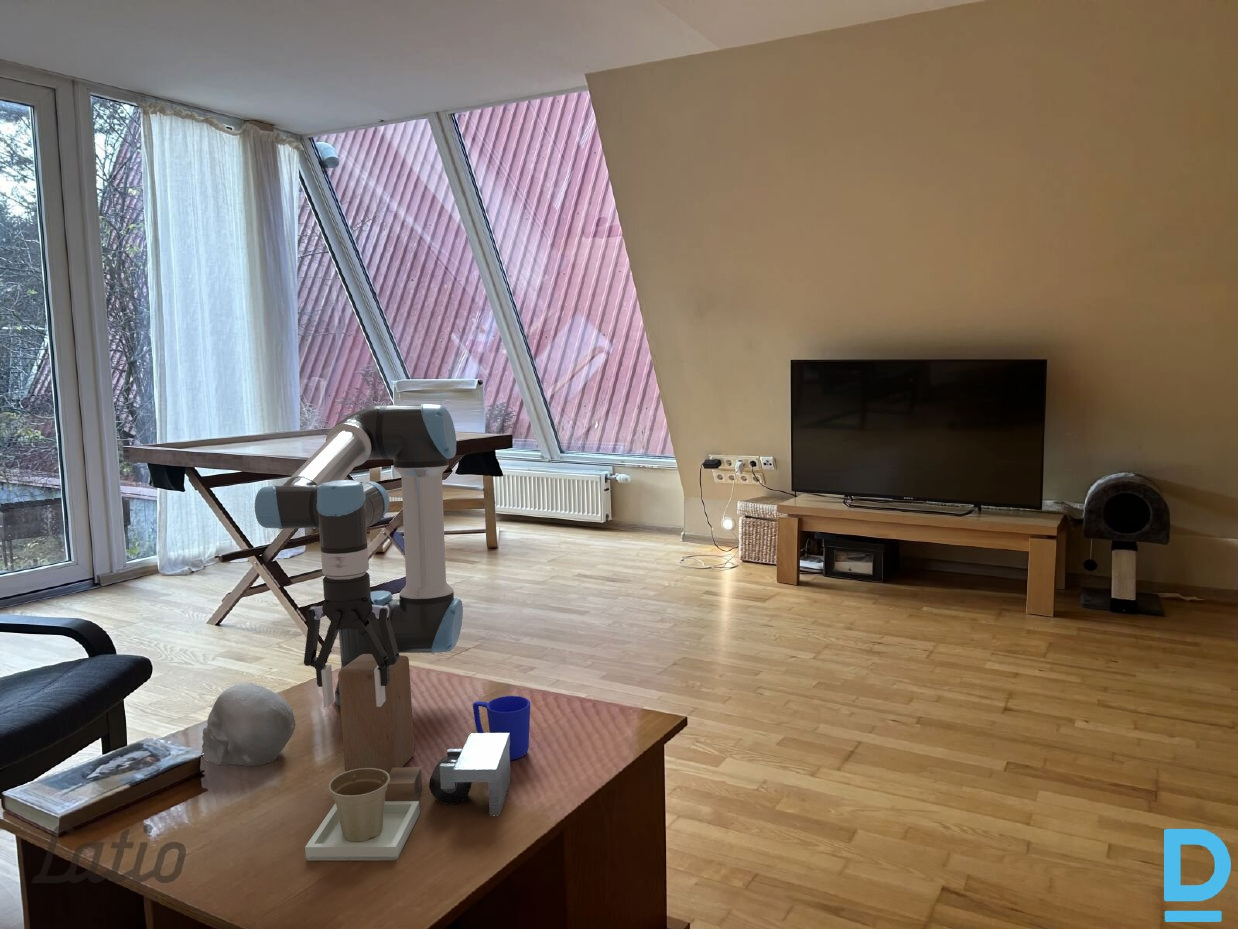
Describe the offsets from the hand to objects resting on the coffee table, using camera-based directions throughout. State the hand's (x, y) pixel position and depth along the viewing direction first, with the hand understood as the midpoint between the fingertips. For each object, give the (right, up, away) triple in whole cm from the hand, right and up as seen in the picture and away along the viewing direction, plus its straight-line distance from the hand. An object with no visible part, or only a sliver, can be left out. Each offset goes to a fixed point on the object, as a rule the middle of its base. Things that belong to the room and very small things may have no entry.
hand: (355, 703), depth 159 cm
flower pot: (+4, -18, -10) cm, 21 cm away
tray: (+4, -19, -10) cm, 21 cm away
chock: (+8, -17, +2) cm, 19 cm away
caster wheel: (+18, -17, +2) cm, 25 cm away
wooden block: (0, -16, +15) cm, 22 cm away
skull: (-26, -16, +21) cm, 37 cm away
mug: (+23, -14, +19) cm, 33 cm away
